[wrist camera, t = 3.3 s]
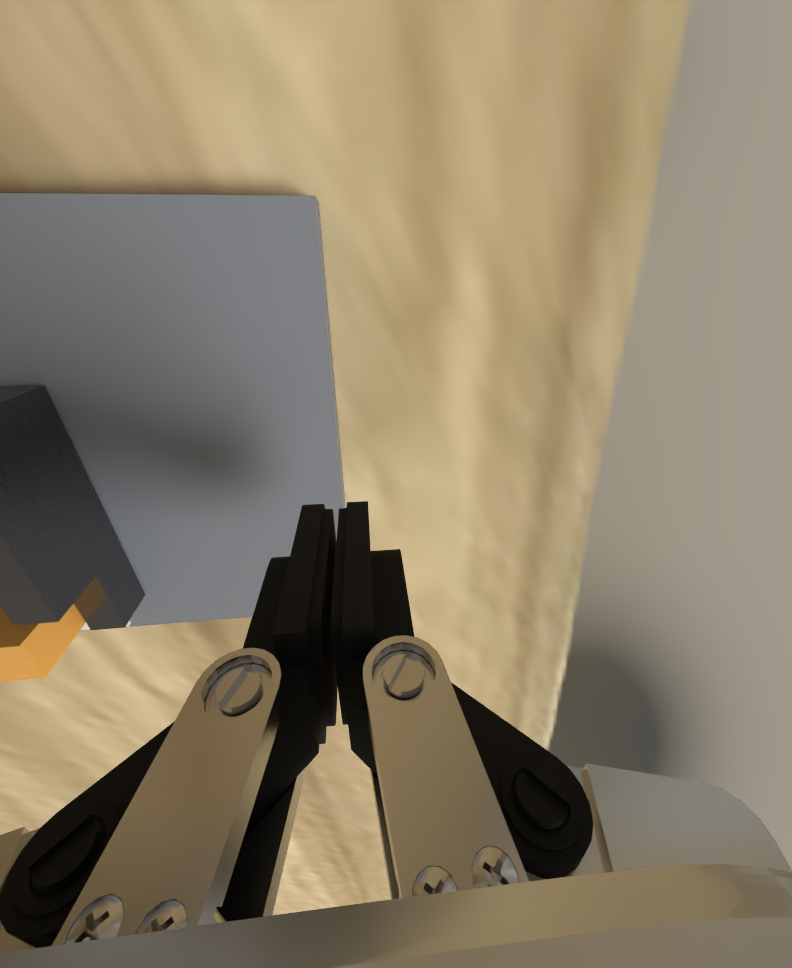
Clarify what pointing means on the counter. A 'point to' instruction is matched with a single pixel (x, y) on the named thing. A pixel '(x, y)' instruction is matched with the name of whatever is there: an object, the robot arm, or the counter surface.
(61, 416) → the board
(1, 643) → the orange block
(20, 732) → the counter surface
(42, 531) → the plunger
